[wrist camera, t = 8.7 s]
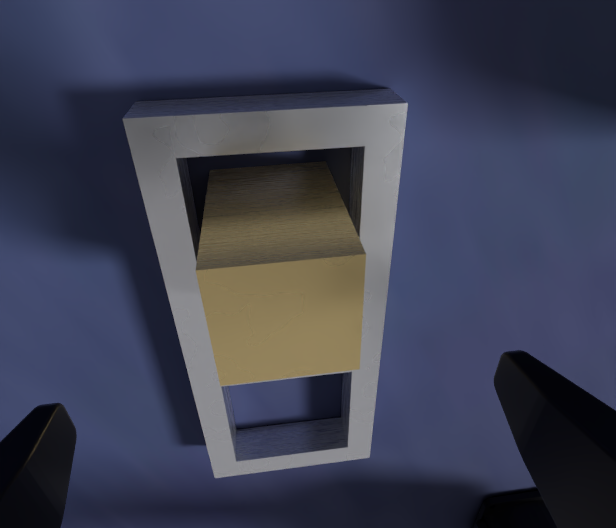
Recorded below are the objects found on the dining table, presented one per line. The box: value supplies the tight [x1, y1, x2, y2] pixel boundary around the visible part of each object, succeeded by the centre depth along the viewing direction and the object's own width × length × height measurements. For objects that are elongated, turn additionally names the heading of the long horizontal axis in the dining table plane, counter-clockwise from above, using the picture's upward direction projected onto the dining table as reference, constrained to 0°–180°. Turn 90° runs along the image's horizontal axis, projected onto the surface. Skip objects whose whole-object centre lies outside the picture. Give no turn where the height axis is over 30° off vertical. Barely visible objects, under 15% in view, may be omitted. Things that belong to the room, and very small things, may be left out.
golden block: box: [195, 161, 366, 386], centre depth 14 cm, size 4×4×6 cm
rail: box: [123, 89, 408, 478], centre depth 18 cm, size 8×18×2 cm, turn 1°
